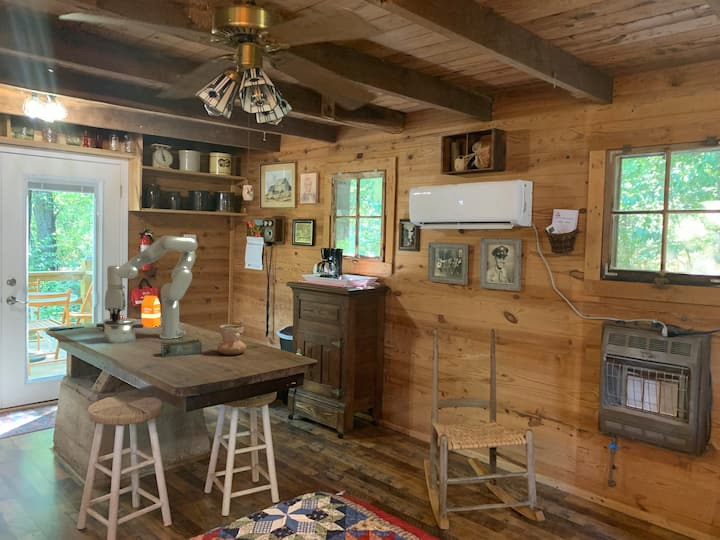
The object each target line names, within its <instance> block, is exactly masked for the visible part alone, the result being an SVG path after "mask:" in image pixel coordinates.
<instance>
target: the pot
mask: <svg viewBox="0 0 720 540" xmlns="http://www.w3.org/2000/svg"><path fill="white" fill-rule="evenodd" d="M95 326H96V328H103V327H104V330H105V331H104V343H106V344H112V343H118V344H127V343H126V342H128V343H132V342H131V341H133V342H135V341H136V338H137V337H136V329H143V328H145V327H144V324H142V323H140V324H138V323H136V322H134V323H125V324H103V323H96V324H95ZM134 340H135V341H134Z"/></svg>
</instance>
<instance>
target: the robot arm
mask: <svg viewBox="0 0 720 540" xmlns="http://www.w3.org/2000/svg"><path fill="white" fill-rule="evenodd" d="M197 249H198V241H197V240H196V239H195V237H194V238H193V237H188V236H175V235H163V236H161V237H160V238H158V239H157V240H155V241H154V242H153V243H152V244H151V245H150V246H147V247H146V248H145V249H143V250H142V251H141V252H139V253H137V254H136V255H135V256H133V257H132V258H130V259H129V260H128V261H127V262H125V263H123V264H122V265H117V264H116V265H109V266H107V269H106V270H107V271H106V273H107V274H106V276H107V280H106V281H107V289H106V291H105V297H104V309H105V311H109V313H110V312H111V314H112V321H118V313H119V312H121V311H125V310H126V308H125V307H126V305H127V301H126V294H125V290H124V289H125V285H123V279H128V280H129V279H130V280H132V279H135V278H136V277H137V276H138V274H139V270H140V269H142V268H143V267H145V266H148V265H149V264H153V263H155V262H156V261H157V260H159V259H161V258H162V256H164V255H165V254H167V252H171V251H172V252H180V257H179V259H178V261H177V263H176V265H175V267H174V268H173V270H172V272H171V275H170V277H171V280H172V281H171V283H170V282H168V283H165V284H164V285H162V287H161V289H160V299H161V328H162V329H161V332H162V334H160V335H159V337H158V338H160V339H163V340H170V339H171V340H174V339H179V337H180V338H183V335H185V336H186V335H187V331H186V330H182V328H180V302H179V301H180V300H182V298H183V297H184V296H185V294H186V291H187V290H188V289H189V286H190V284H191V283H192V280H193V272H192V268H193V266H194V263H195V261H196V250H197ZM115 308H116V309H115ZM173 338H174V339H173Z"/></svg>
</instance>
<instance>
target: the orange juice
mask: <svg viewBox="0 0 720 540" xmlns="http://www.w3.org/2000/svg"><path fill="white" fill-rule="evenodd" d="M141 324H144V326H147V327H146V328H153V327H154V328H156V327H155V326H157V327H160V326H161V303H160V301H159V297H158V296H157V295H147V294H146V295H144V297H143V300H142V302H141ZM159 325H160V326H159Z"/></svg>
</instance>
